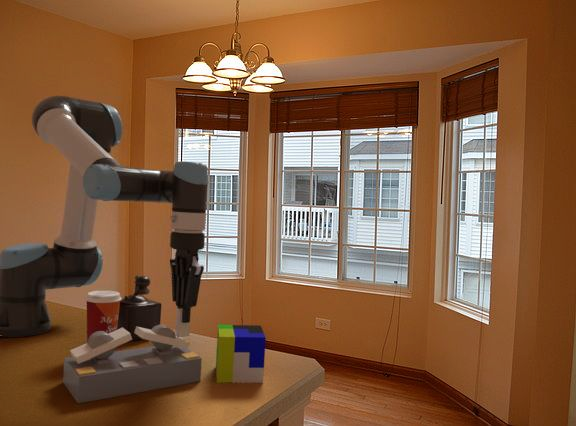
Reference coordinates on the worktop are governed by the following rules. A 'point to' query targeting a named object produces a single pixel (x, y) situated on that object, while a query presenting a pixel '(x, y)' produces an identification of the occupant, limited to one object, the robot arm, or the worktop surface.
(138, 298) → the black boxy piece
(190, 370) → the console
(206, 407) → the worktop surface
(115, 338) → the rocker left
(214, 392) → the worktop surface
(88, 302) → the coffee cup
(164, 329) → the rocker right
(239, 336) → the puzzle toy
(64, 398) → the worktop surface
